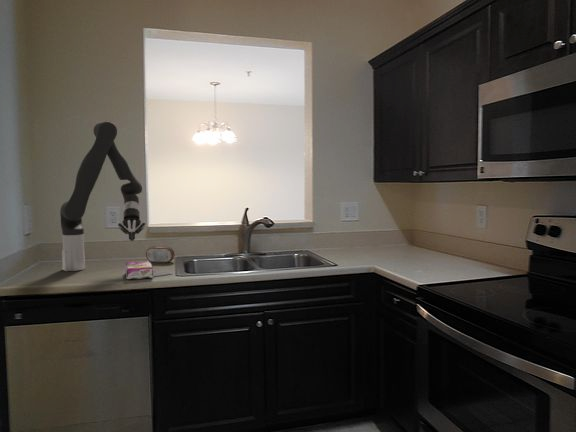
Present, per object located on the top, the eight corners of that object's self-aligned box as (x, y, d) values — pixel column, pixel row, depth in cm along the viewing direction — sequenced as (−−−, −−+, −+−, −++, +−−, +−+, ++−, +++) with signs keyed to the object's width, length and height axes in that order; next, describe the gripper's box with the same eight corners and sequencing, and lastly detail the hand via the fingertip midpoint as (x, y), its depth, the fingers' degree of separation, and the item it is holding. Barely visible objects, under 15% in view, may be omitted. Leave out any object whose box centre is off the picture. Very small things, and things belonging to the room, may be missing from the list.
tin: (174, 262, 223) (174, 246, 223) (172, 263, 220) (172, 247, 219) (147, 261, 225) (147, 246, 224) (145, 262, 222) (145, 246, 221)
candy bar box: (150, 260, 199) (153, 266, 184) (150, 270, 199) (153, 278, 184) (125, 261, 194) (126, 268, 179) (125, 272, 195) (126, 279, 180)
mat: (135, 279, 182) (135, 278, 182) (128, 275, 189) (128, 275, 189) (172, 274, 193) (172, 273, 193) (163, 270, 200) (163, 270, 200)
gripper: (117, 207, 204) (116, 235, 194) (145, 207, 209) (146, 234, 198) (117, 217, 210) (117, 245, 199) (145, 217, 214) (146, 243, 204)
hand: (131, 239), depth 199 cm, fingers closed
